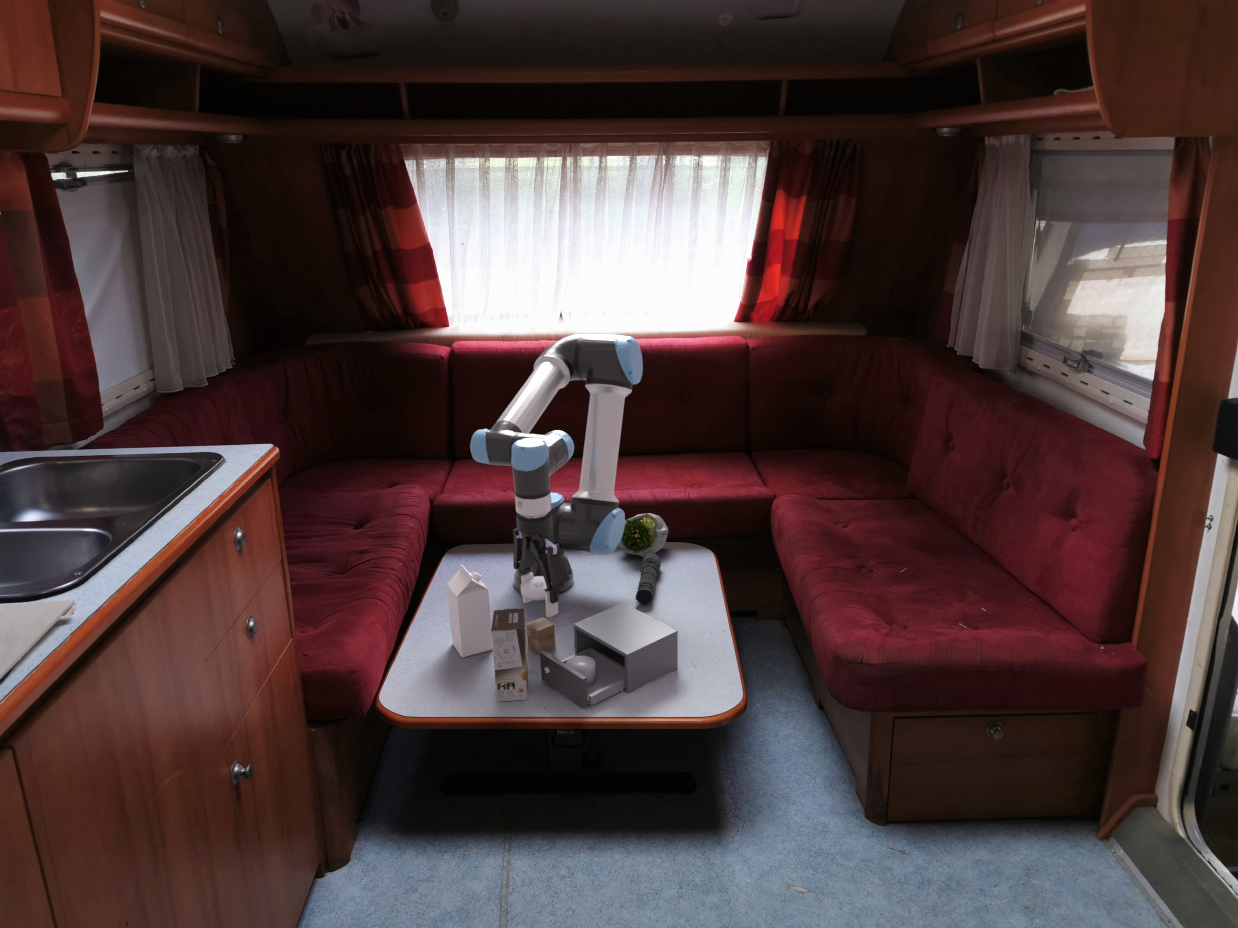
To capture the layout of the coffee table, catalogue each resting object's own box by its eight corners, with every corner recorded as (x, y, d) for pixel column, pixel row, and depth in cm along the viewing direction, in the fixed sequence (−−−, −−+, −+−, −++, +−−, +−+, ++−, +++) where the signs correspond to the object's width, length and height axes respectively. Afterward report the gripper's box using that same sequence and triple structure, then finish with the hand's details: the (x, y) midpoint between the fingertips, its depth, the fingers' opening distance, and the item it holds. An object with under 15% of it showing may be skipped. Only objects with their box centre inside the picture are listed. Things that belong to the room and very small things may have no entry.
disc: (513, 591, 197) (513, 584, 196) (543, 579, 202) (542, 572, 201) (535, 604, 191) (534, 597, 191) (565, 591, 196) (564, 584, 195)
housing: (575, 661, 195) (573, 623, 192) (623, 638, 204) (623, 602, 201) (628, 693, 183) (627, 654, 180) (677, 668, 191) (677, 630, 188)
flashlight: (661, 570, 238) (661, 552, 236) (654, 607, 218) (654, 588, 216) (642, 569, 238) (642, 552, 237) (633, 606, 219) (633, 587, 217)
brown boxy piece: (527, 647, 201) (526, 623, 199) (543, 640, 203) (542, 617, 201) (539, 655, 197) (538, 630, 196) (555, 648, 200) (554, 624, 198)
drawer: (538, 680, 187) (536, 652, 185) (590, 655, 196) (589, 628, 194) (583, 710, 177) (581, 681, 175) (636, 683, 185) (636, 654, 183)
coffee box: (528, 700, 181) (523, 629, 176) (496, 702, 181) (490, 631, 176) (528, 675, 190) (524, 607, 185) (498, 677, 189) (492, 608, 184)
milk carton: (462, 658, 197) (455, 579, 191) (452, 644, 203) (445, 567, 197) (493, 650, 200) (487, 572, 194) (482, 636, 206) (476, 560, 200)
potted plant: (678, 535, 249) (668, 543, 235) (642, 563, 252) (630, 572, 238) (651, 501, 251) (639, 506, 236) (616, 528, 254) (602, 535, 239)
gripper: (491, 503, 195) (499, 596, 203) (549, 531, 180) (555, 631, 188) (519, 493, 200) (526, 585, 207) (578, 520, 185) (583, 618, 193)
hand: (540, 607), depth 198 cm, fingers closed on disc, 8 cm apart
